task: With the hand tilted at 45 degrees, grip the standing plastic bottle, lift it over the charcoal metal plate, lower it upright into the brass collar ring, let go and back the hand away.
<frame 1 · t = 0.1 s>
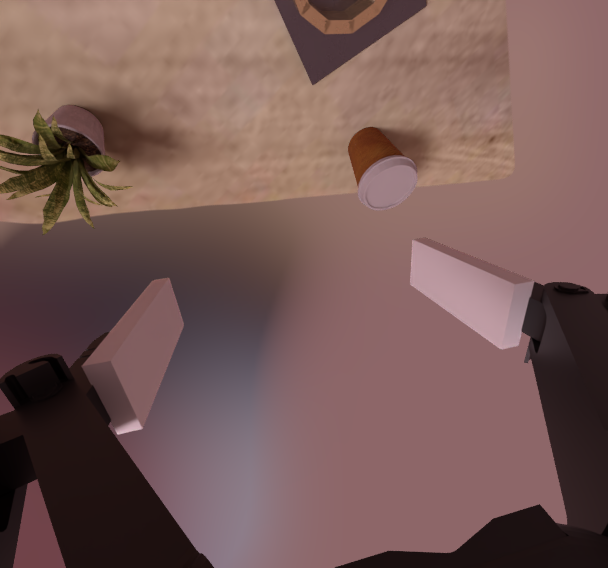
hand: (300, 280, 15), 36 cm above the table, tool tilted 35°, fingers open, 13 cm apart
house plant: (86, 118, 37), on the table
disposable coffee cup: (364, 144, 50), on the table
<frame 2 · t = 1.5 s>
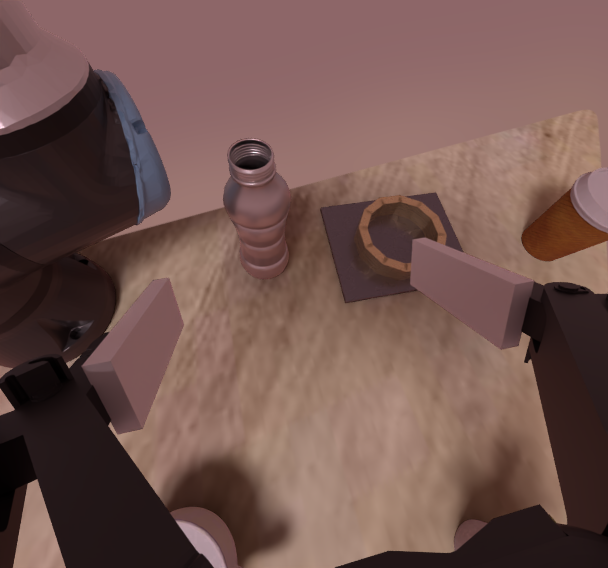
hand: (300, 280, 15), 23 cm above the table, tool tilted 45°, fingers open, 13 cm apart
house plant: (470, 532, 31), on the table
plastic bottle: (266, 264, 41), on the table
collar stand: (394, 243, 44), on the table
disposable coffee cup: (539, 244, 46), on the table
teacup: (205, 560, 29), on the table
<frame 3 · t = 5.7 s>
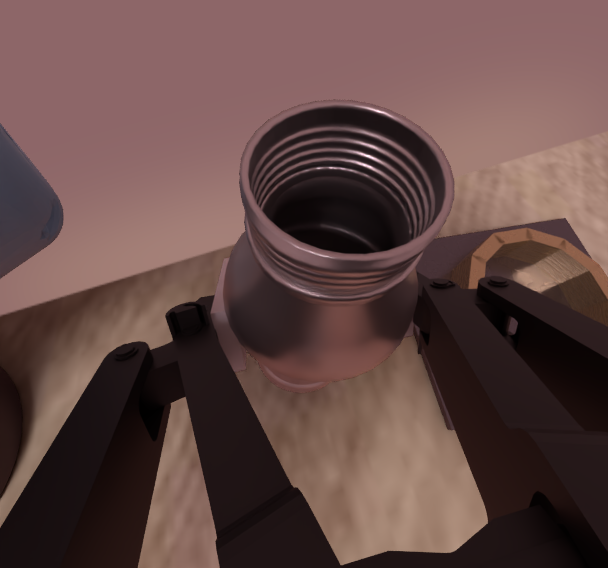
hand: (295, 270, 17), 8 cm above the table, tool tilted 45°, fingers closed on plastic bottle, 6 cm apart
plastic bottle: (300, 352, 23), on the table, touching gripper
collar stand: (513, 308, 26), on the table
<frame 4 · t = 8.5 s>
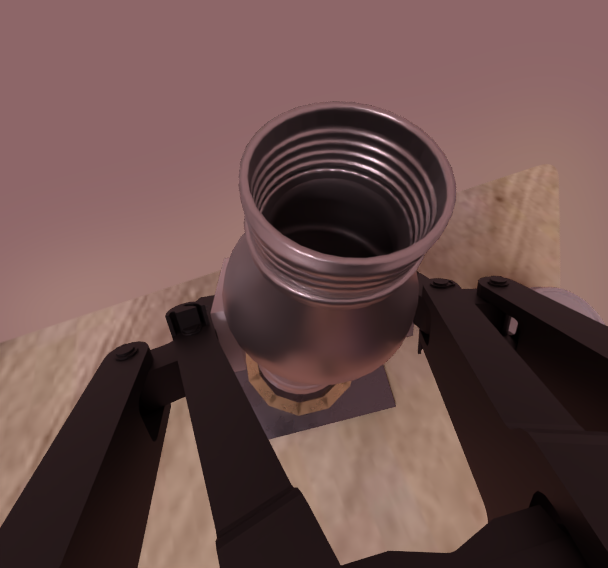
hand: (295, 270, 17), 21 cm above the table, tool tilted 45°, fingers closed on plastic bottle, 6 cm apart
plastic bottle: (300, 353, 23), point 12 cm above the table, touching gripper
collar stand: (299, 357, 35), on the table
disposable coffee cup: (480, 349, 38), on the table
when the fingers open (10 cm above the table, at t = 11.4 s): plastic bottle drops 1 cm, resting on collar stand.
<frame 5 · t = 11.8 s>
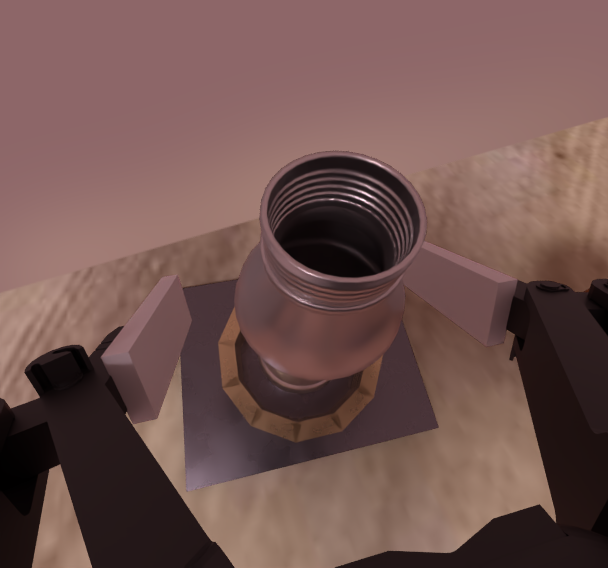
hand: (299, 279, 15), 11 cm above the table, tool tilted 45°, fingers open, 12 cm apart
plastic bottle: (299, 355, 25), resting on collar stand
collar stand: (299, 355, 25), on the table
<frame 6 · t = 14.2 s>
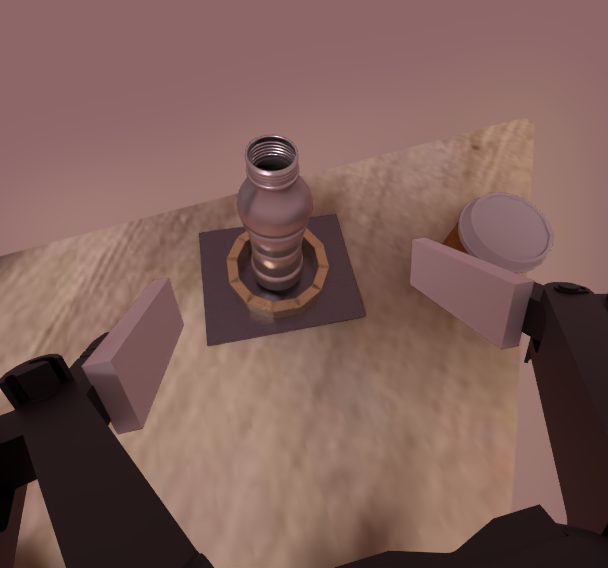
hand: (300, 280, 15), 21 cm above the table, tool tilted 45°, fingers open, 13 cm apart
plastic bottle: (278, 273, 38), resting on collar stand
collar stand: (278, 274, 38), on the table
disposable coffee cup: (448, 273, 40), on the table
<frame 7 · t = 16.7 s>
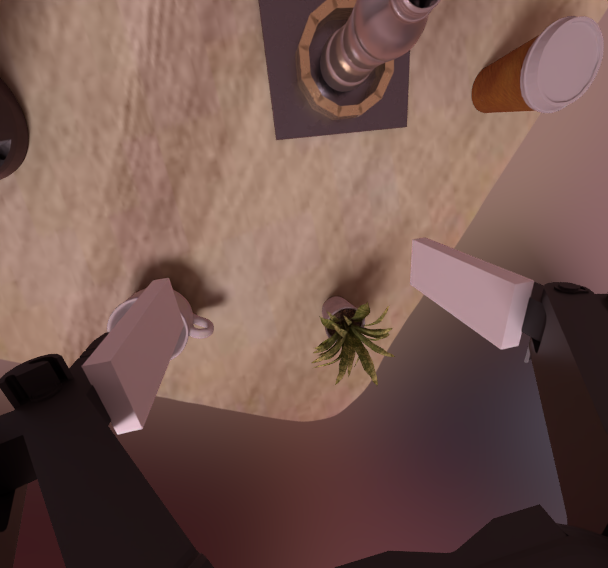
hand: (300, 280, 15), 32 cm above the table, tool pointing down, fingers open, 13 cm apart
house plant: (333, 302, 53), on the table
plastic bottle: (340, 68, 38), resting on collar stand
collar stand: (339, 68, 39), on the table
disposable coffee cup: (488, 89, 44), on the table
teacup: (173, 309, 48), on the table
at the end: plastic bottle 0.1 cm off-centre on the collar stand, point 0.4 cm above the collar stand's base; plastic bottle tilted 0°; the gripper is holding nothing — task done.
